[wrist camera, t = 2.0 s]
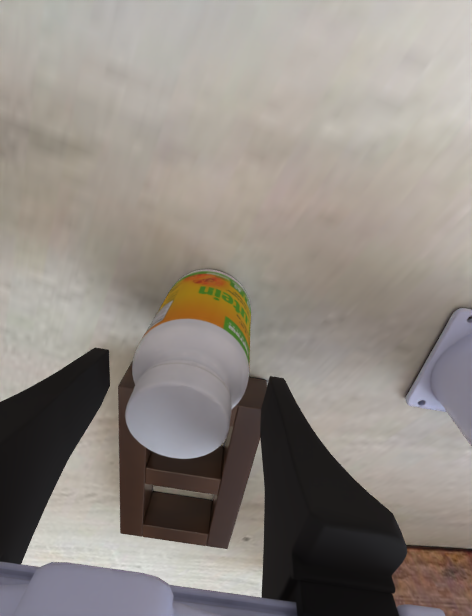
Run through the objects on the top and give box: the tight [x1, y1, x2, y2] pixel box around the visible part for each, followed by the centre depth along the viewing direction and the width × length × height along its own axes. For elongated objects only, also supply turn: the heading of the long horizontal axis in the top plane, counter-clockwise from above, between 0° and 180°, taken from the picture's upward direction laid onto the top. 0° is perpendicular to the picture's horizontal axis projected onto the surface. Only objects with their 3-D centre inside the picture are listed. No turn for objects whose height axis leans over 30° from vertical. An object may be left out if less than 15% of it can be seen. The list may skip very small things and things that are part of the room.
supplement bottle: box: [125, 269, 251, 459], centre depth 16 cm, size 5×5×10 cm
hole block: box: [118, 361, 267, 549], centre depth 26 cm, size 10×18×3 cm, turn 171°
